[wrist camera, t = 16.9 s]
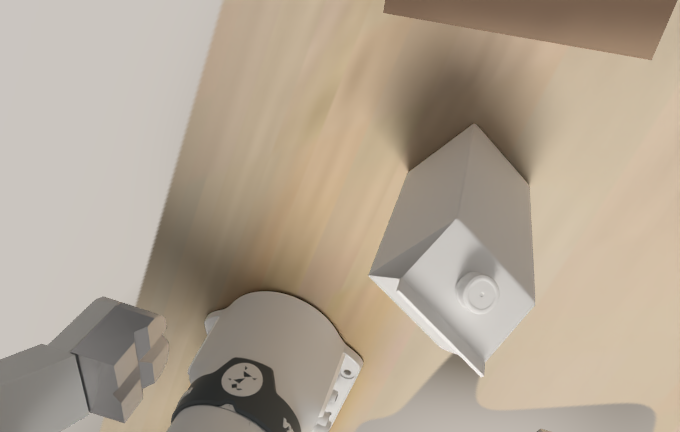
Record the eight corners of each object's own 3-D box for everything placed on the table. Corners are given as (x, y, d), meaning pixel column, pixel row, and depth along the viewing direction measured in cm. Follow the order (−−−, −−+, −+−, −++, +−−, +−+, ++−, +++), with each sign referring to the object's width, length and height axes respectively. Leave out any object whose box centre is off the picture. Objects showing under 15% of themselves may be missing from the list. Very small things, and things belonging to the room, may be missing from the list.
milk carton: (460, 229, 46) (433, 398, 31) (407, 171, 45) (350, 318, 29) (530, 185, 43) (539, 353, 27) (474, 121, 41) (450, 258, 26)
